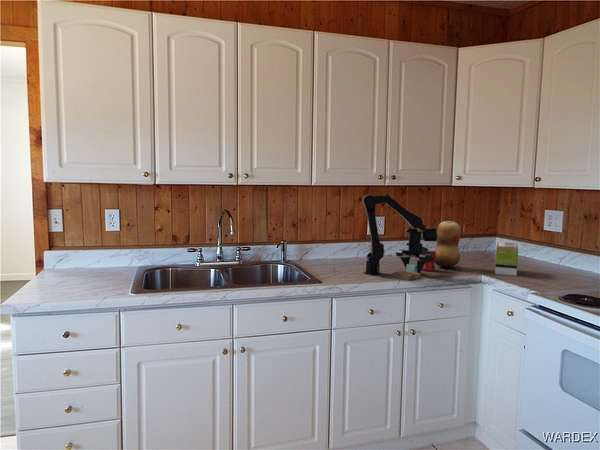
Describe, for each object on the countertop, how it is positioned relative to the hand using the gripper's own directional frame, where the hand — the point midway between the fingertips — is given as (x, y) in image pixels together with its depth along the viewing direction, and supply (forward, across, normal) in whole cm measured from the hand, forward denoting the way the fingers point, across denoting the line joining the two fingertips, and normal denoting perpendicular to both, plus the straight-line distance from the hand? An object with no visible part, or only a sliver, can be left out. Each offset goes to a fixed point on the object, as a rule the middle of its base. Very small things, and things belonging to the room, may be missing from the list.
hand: (413, 272), depth 206 cm
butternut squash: (+1, 0, -28) cm, 28 cm away
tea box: (+1, -24, -44) cm, 50 cm away
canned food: (+1, +2, -14) cm, 14 cm away
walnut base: (+1, -2, +8) cm, 8 cm away
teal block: (+1, 0, 0) cm, 1 cm away
